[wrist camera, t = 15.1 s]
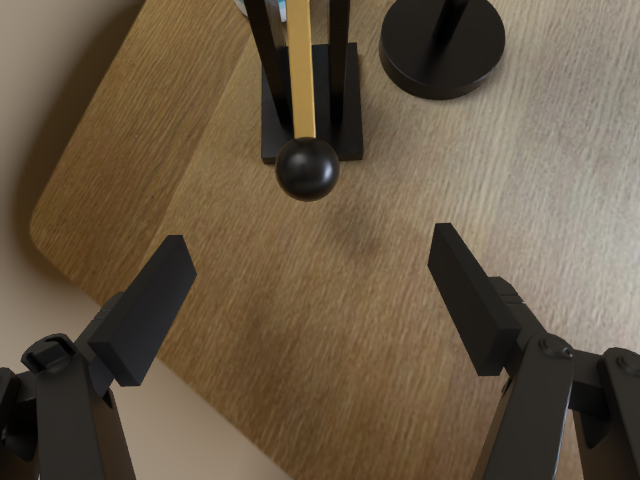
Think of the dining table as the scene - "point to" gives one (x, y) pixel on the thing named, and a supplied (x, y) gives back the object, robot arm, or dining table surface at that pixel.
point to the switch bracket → (328, 82)
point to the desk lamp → (441, 46)
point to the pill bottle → (282, 8)
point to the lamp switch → (304, 119)
